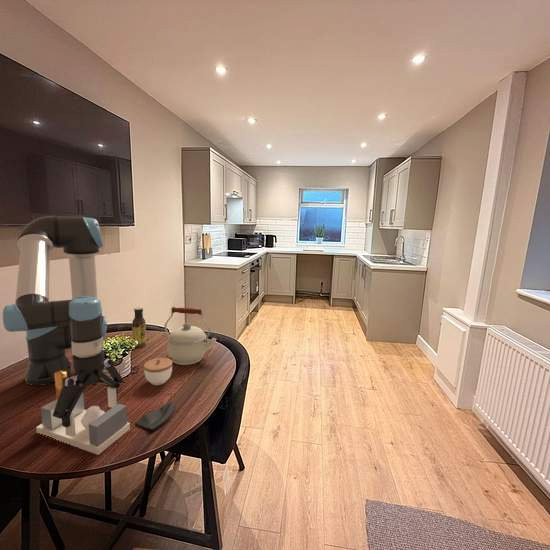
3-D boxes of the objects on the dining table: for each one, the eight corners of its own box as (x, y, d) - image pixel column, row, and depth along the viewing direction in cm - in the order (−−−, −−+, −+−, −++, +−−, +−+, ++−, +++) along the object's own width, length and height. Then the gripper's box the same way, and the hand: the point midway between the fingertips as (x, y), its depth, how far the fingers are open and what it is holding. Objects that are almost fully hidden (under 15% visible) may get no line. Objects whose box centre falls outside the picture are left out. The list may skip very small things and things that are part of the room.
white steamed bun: (88, 438, 81) (86, 416, 80) (77, 430, 84) (75, 408, 83) (110, 426, 86) (109, 405, 85) (99, 418, 90) (98, 398, 88)
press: (36, 433, 85) (34, 408, 84) (72, 411, 96) (71, 389, 94) (98, 455, 78) (96, 428, 77) (130, 429, 88) (129, 405, 87)
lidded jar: (163, 390, 110) (162, 367, 109) (138, 386, 112) (137, 363, 111) (177, 376, 120) (177, 355, 119) (155, 373, 122) (154, 352, 121)
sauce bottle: (143, 348, 147) (142, 310, 144) (130, 348, 146) (129, 310, 143) (148, 343, 153) (146, 307, 150) (136, 343, 153) (134, 306, 149)
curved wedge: (184, 410, 99) (184, 405, 99) (152, 434, 87) (152, 429, 87) (167, 403, 103) (167, 398, 103) (133, 425, 91) (133, 420, 91)
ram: (42, 426, 85) (37, 379, 82) (75, 407, 94) (71, 364, 92) (52, 429, 84) (47, 381, 81) (84, 409, 93) (81, 366, 91)
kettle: (155, 365, 129) (154, 311, 125) (174, 348, 147) (173, 301, 143) (209, 370, 127) (209, 315, 123) (221, 352, 145) (222, 304, 141)
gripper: (52, 375, 69) (59, 453, 72) (133, 339, 92) (135, 399, 96) (30, 369, 71) (38, 446, 74) (114, 335, 94) (118, 394, 98)
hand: (93, 420), depth 85 cm, fingers open, 13 cm apart
